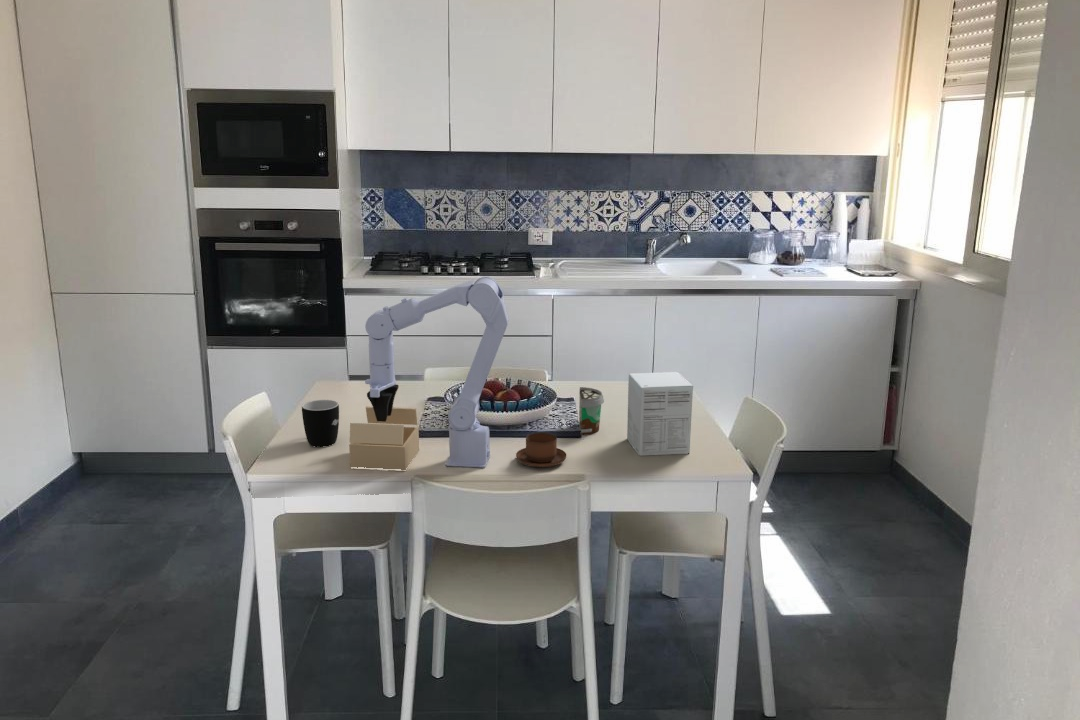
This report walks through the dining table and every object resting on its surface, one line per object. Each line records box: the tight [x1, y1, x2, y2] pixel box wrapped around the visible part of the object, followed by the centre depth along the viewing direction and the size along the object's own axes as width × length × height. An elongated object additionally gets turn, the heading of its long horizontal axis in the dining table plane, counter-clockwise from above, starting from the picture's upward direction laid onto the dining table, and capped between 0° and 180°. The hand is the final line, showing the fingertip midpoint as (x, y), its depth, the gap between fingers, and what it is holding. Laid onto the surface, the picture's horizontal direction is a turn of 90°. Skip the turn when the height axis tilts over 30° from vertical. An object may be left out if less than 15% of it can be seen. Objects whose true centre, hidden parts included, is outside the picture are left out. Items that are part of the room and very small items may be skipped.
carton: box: [348, 426, 420, 471], centre depth 215 cm, size 13×14×6 cm
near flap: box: [349, 422, 405, 445], centre depth 207 cm, size 12×4×1 cm
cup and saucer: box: [515, 432, 567, 468], centre depth 214 cm, size 12×12×6 cm
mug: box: [301, 399, 340, 448], centre depth 227 cm, size 12×9×10 cm
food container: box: [578, 386, 605, 436], centre depth 237 cm, size 12×6×10 cm, turn 0°
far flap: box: [365, 406, 419, 426], centre depth 220 cm, size 12×4×1 cm
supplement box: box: [626, 371, 694, 457], centre depth 224 cm, size 13×13×18 cm
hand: (384, 418), depth 213 cm, fingers open, 4 cm apart
